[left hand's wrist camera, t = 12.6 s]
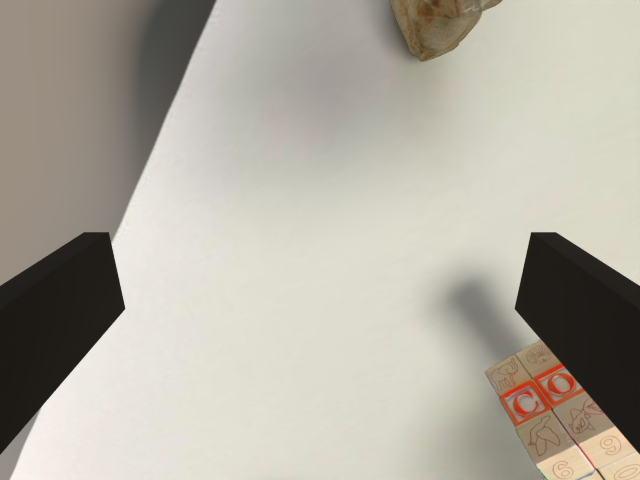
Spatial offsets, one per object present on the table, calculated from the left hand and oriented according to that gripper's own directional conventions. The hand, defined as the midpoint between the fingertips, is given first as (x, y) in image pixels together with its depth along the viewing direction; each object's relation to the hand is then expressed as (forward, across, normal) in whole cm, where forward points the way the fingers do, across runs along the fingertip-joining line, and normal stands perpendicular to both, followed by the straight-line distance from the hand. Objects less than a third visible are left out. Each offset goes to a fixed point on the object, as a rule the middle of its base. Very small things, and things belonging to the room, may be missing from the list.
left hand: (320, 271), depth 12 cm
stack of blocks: (+17, +23, -25) cm, 38 cm away
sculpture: (+30, +9, +11) cm, 34 cm away
